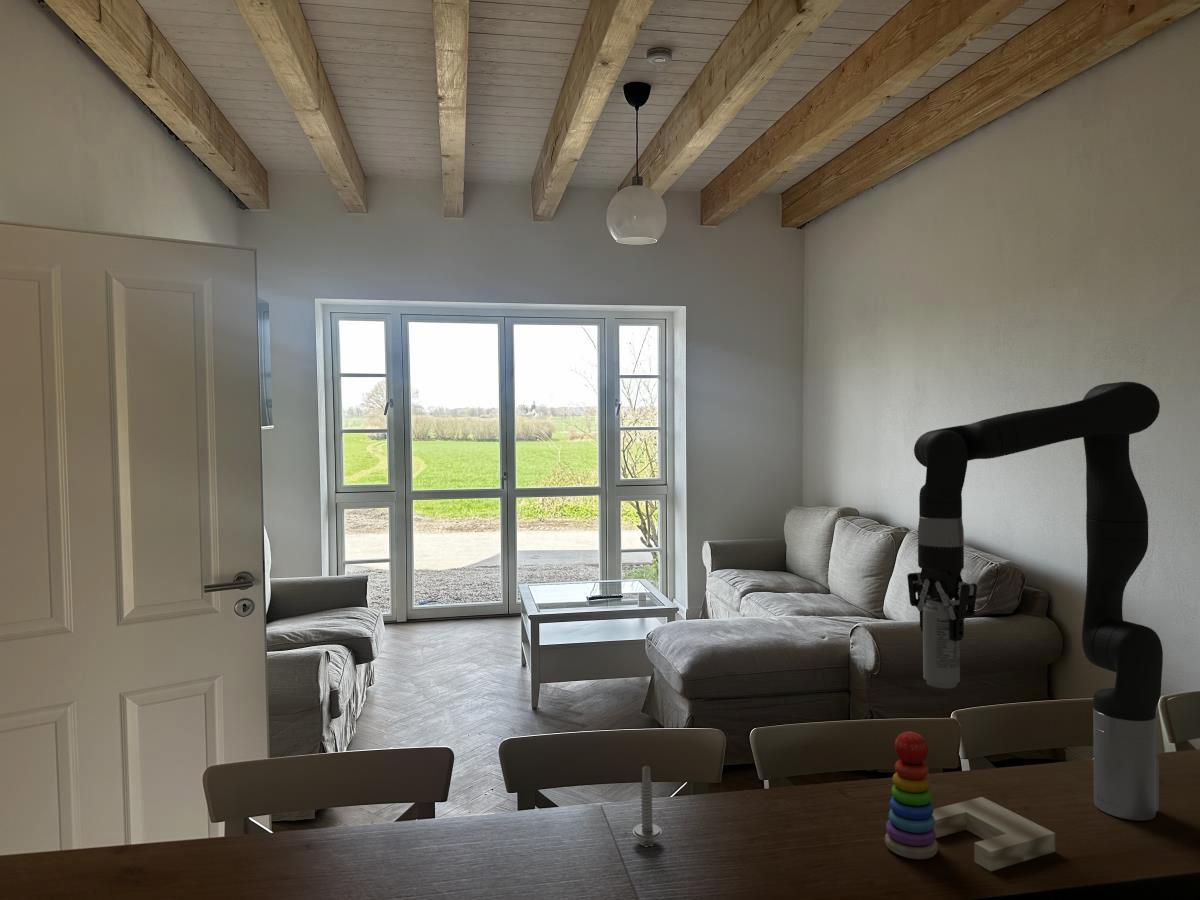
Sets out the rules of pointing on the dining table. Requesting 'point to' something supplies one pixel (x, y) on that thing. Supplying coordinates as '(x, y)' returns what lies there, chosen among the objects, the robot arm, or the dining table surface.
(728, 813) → the dining table surface
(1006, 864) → the notched board
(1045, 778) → the dining table surface
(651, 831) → the screw
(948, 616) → the energy drink can
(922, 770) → the stacking toy
